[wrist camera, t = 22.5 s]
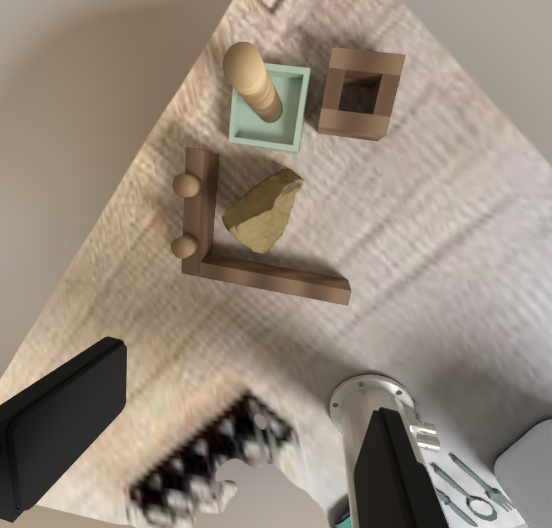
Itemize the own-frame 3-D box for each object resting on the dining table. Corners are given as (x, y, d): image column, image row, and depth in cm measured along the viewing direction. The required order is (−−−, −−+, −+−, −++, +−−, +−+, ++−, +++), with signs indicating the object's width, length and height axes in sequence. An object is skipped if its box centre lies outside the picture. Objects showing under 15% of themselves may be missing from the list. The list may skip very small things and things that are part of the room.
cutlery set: (313, 517, 51) (313, 532, 49) (447, 440, 42) (455, 454, 40) (384, 575, 53) (387, 591, 51) (526, 512, 44) (537, 530, 42)
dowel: (284, 95, 31) (264, 43, 19) (280, 124, 32) (259, 90, 20) (259, 93, 31) (224, 39, 20) (256, 121, 32) (221, 86, 20)
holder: (394, 71, 29) (405, 54, 25) (377, 141, 31) (385, 135, 27) (330, 64, 30) (332, 47, 26) (318, 133, 32) (318, 126, 28)
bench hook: (372, 177, 32) (388, 175, 25) (344, 293, 37) (351, 318, 30) (200, 151, 34) (170, 143, 27) (194, 264, 39) (167, 282, 32)
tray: (310, 77, 30) (310, 68, 28) (298, 154, 33) (297, 151, 30) (241, 69, 31) (235, 59, 29) (234, 144, 34) (228, 141, 31)
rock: (284, 139, 30) (211, 184, 32) (312, 174, 25) (221, 227, 26) (313, 206, 38) (254, 240, 40) (339, 244, 33) (269, 282, 34)
